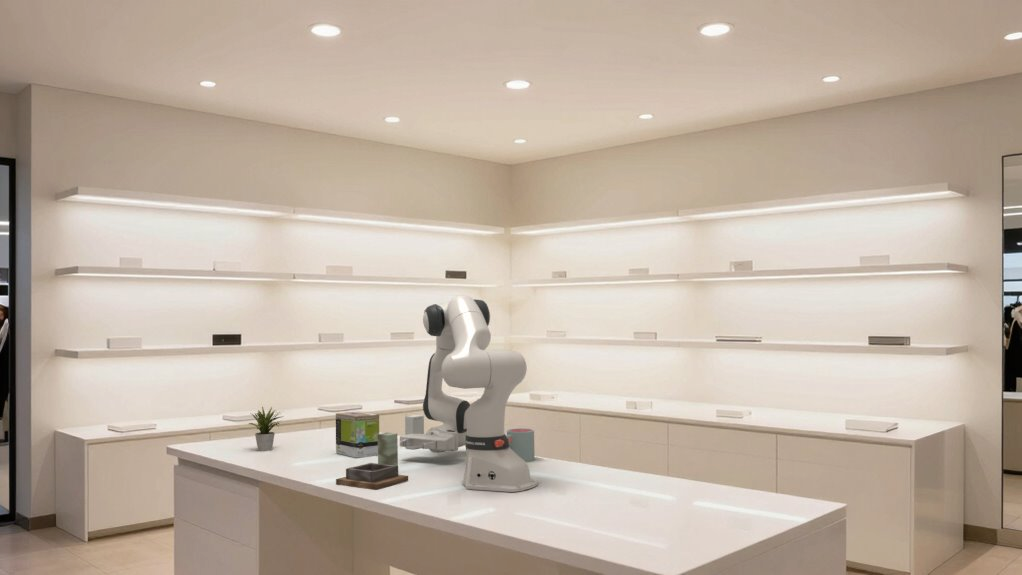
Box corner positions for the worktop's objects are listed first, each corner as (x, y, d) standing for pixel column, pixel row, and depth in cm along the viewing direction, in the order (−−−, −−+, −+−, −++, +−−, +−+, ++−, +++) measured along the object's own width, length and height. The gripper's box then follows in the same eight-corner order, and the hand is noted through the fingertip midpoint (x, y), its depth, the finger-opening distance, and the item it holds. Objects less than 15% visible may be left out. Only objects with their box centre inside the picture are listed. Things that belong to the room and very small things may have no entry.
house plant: (278, 453, 304) (278, 408, 305) (240, 454, 305) (240, 409, 305) (289, 447, 319) (288, 404, 319) (253, 447, 319) (252, 404, 319)
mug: (520, 456, 289) (520, 427, 289) (540, 459, 282) (539, 430, 283) (491, 462, 279) (491, 432, 280) (511, 465, 273) (510, 434, 273)
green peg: (397, 471, 266) (397, 433, 267) (388, 473, 263) (388, 435, 263) (387, 470, 269) (386, 432, 269) (378, 472, 265) (377, 434, 265)
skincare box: (413, 449, 308) (412, 417, 308) (405, 448, 310) (404, 416, 310) (424, 447, 312) (424, 415, 313) (416, 446, 315) (415, 414, 315)
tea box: (380, 455, 297) (380, 413, 298) (355, 458, 291) (355, 416, 291) (359, 450, 309) (358, 410, 309) (334, 453, 302) (334, 412, 303)
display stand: (408, 480, 251) (408, 465, 251) (376, 489, 239) (376, 473, 239) (368, 475, 260) (368, 461, 260) (336, 484, 248) (335, 468, 248)
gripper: (414, 428, 293) (388, 433, 282) (461, 432, 282) (436, 437, 271) (414, 446, 293) (388, 452, 282) (461, 450, 282) (436, 457, 271)
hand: (412, 445), depth 276 cm, fingers open, 8 cm apart
